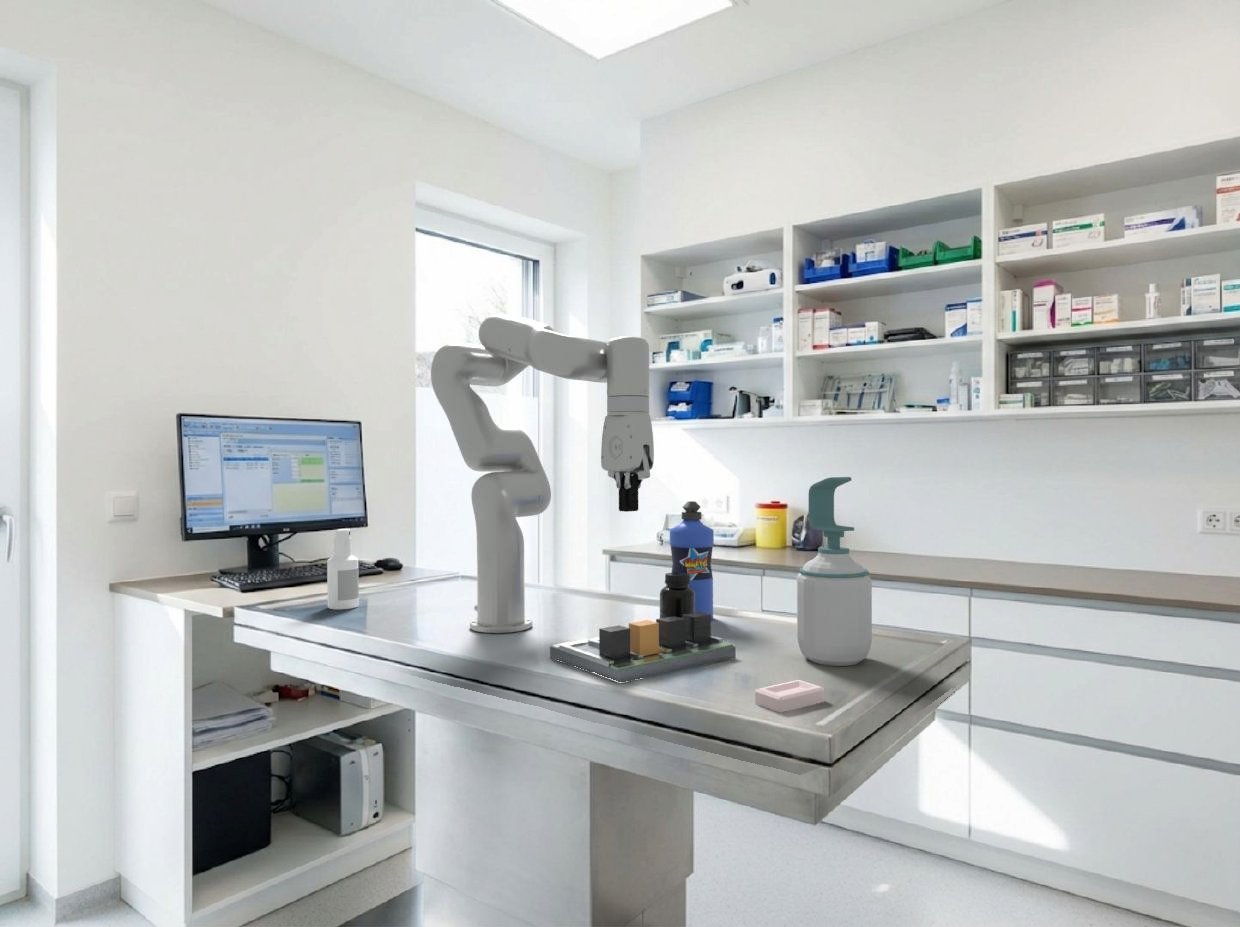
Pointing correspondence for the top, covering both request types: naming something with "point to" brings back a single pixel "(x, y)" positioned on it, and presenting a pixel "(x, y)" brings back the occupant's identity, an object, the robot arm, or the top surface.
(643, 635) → the handle
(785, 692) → the soap bar
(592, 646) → the breaker panel
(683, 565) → the water bottle
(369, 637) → the top surface
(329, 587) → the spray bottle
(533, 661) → the top surface
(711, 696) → the top surface
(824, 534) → the soap bottle
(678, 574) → the supplement bottle
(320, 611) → the top surface
